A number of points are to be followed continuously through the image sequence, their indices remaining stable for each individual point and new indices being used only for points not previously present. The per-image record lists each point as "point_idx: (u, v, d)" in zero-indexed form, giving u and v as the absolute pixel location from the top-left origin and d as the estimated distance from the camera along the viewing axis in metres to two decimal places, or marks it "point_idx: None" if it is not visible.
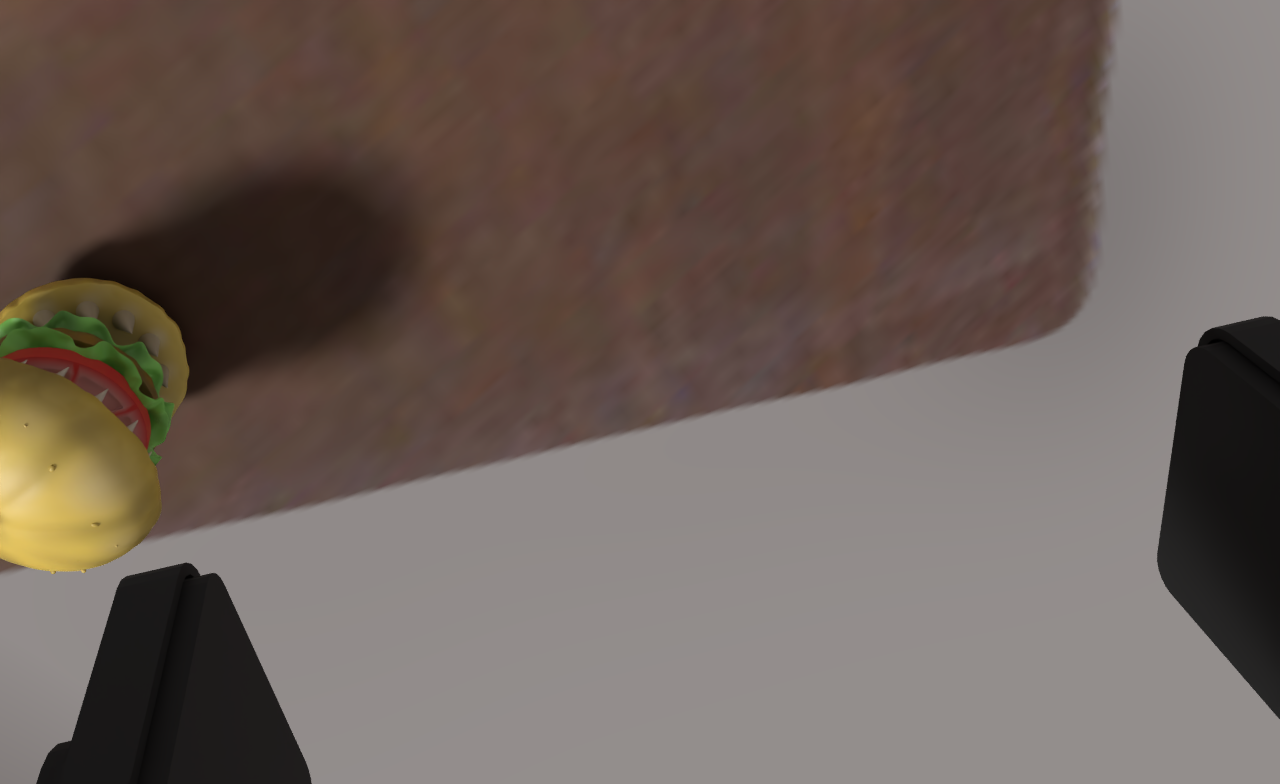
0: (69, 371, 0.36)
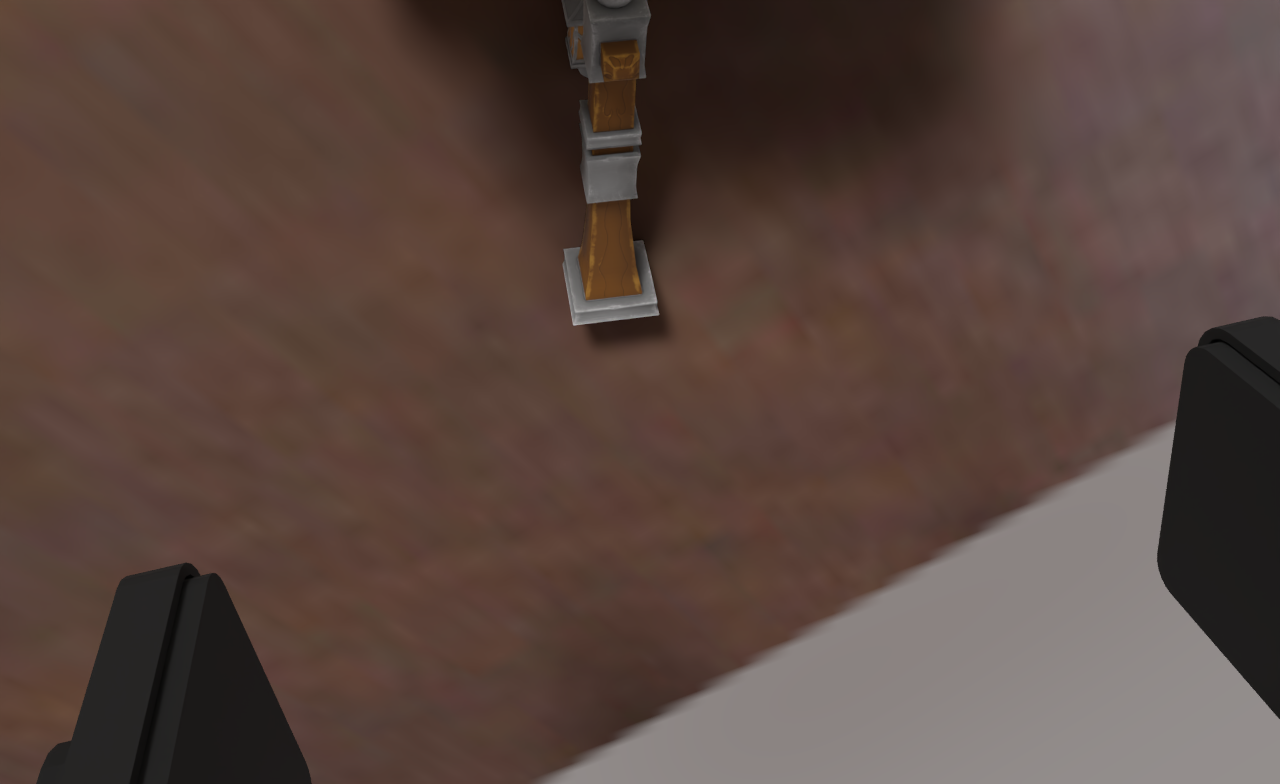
0: None
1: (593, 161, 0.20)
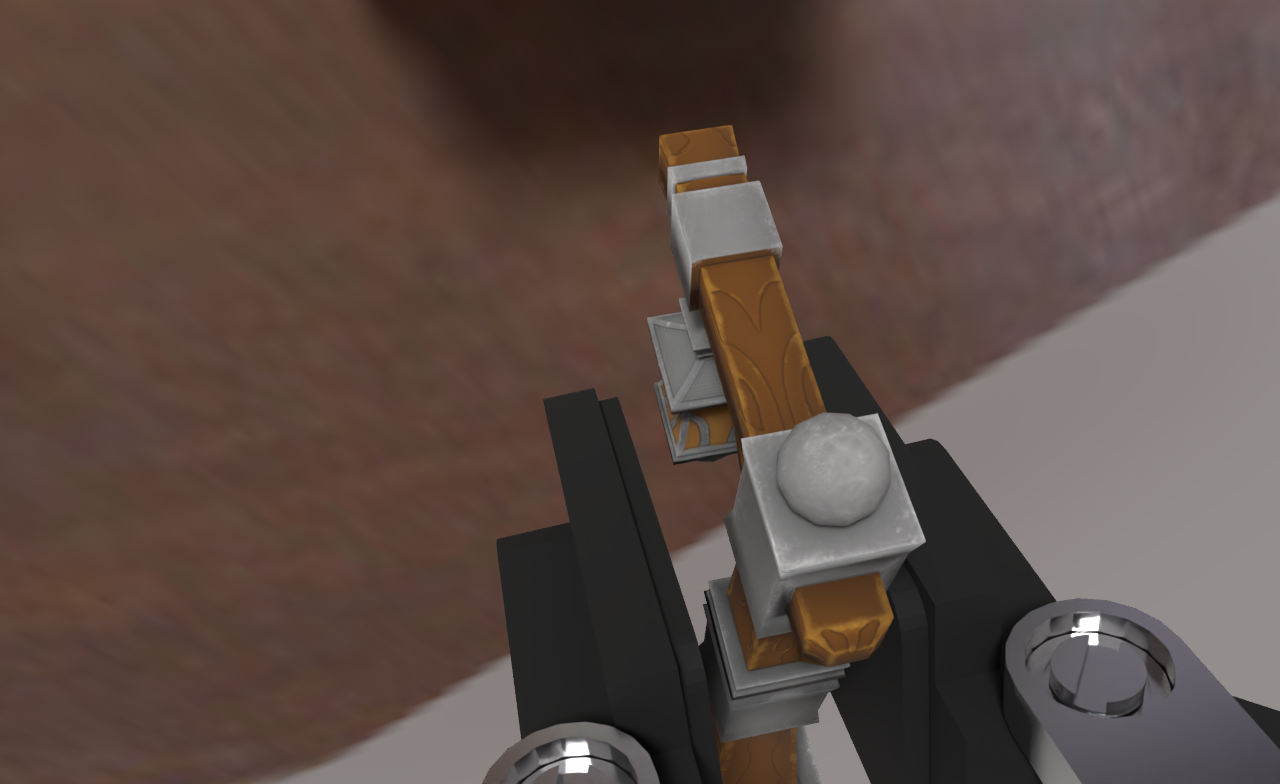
0: None
1: (743, 707, 0.10)
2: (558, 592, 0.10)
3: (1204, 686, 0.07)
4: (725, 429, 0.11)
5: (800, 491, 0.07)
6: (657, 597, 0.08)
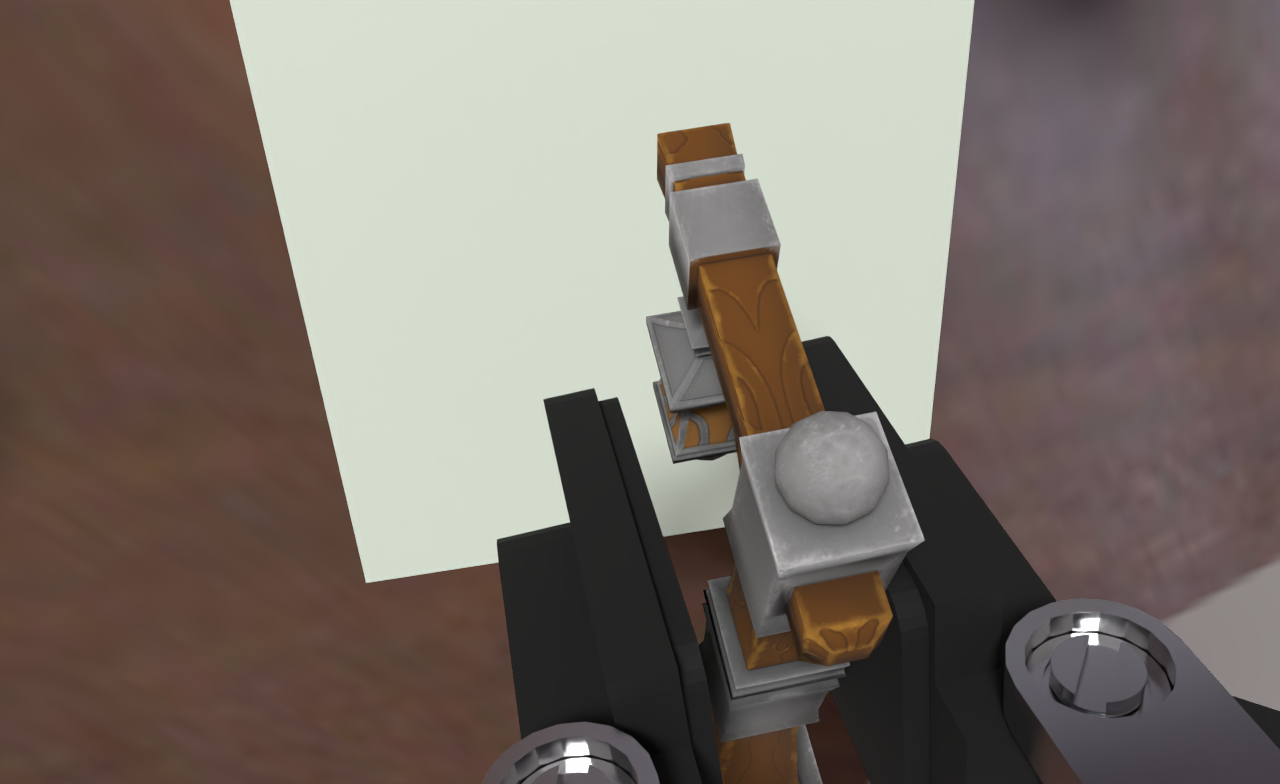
0: None
1: (743, 706, 0.10)
2: (559, 592, 0.10)
3: (1204, 686, 0.07)
4: (724, 428, 0.11)
5: (798, 490, 0.07)
6: (656, 597, 0.08)
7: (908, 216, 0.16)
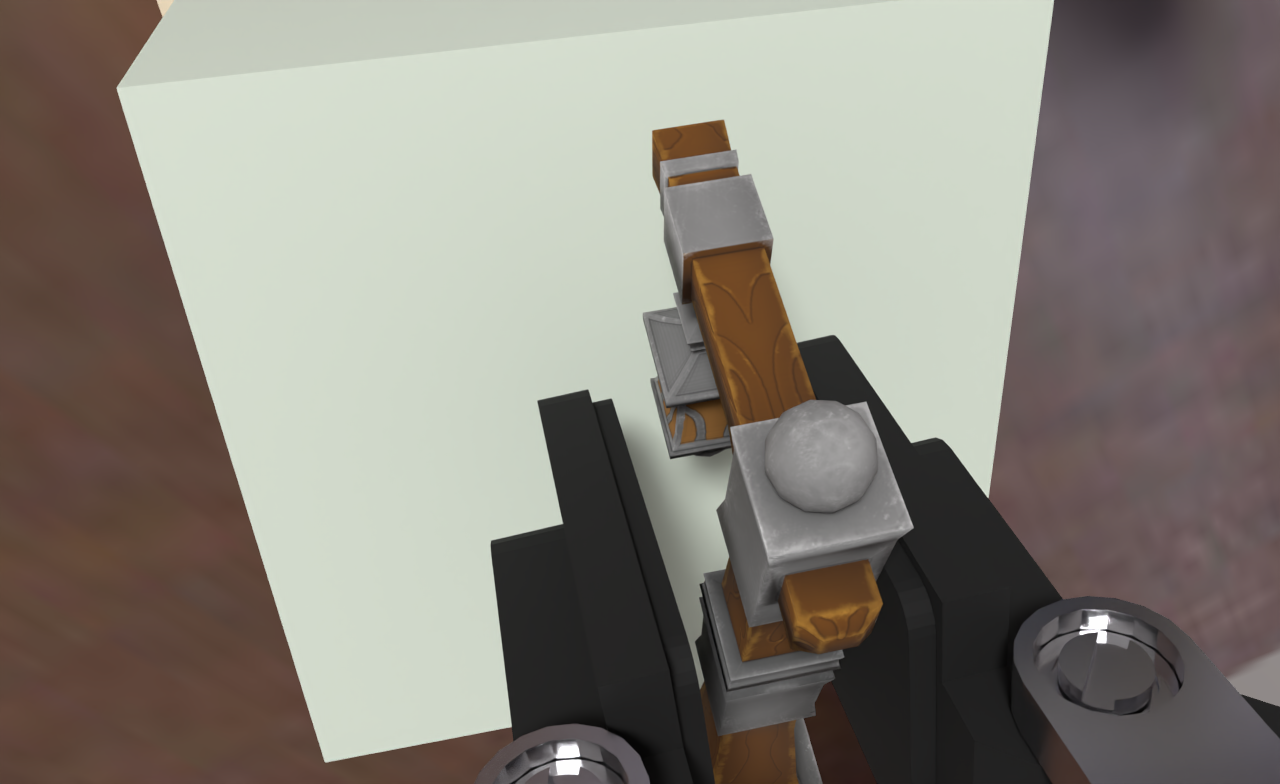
0: None
1: (738, 699, 0.10)
2: (552, 593, 0.10)
3: (1213, 684, 0.07)
4: (721, 424, 0.11)
5: (787, 478, 0.07)
6: (649, 600, 0.08)
7: (957, 339, 0.13)
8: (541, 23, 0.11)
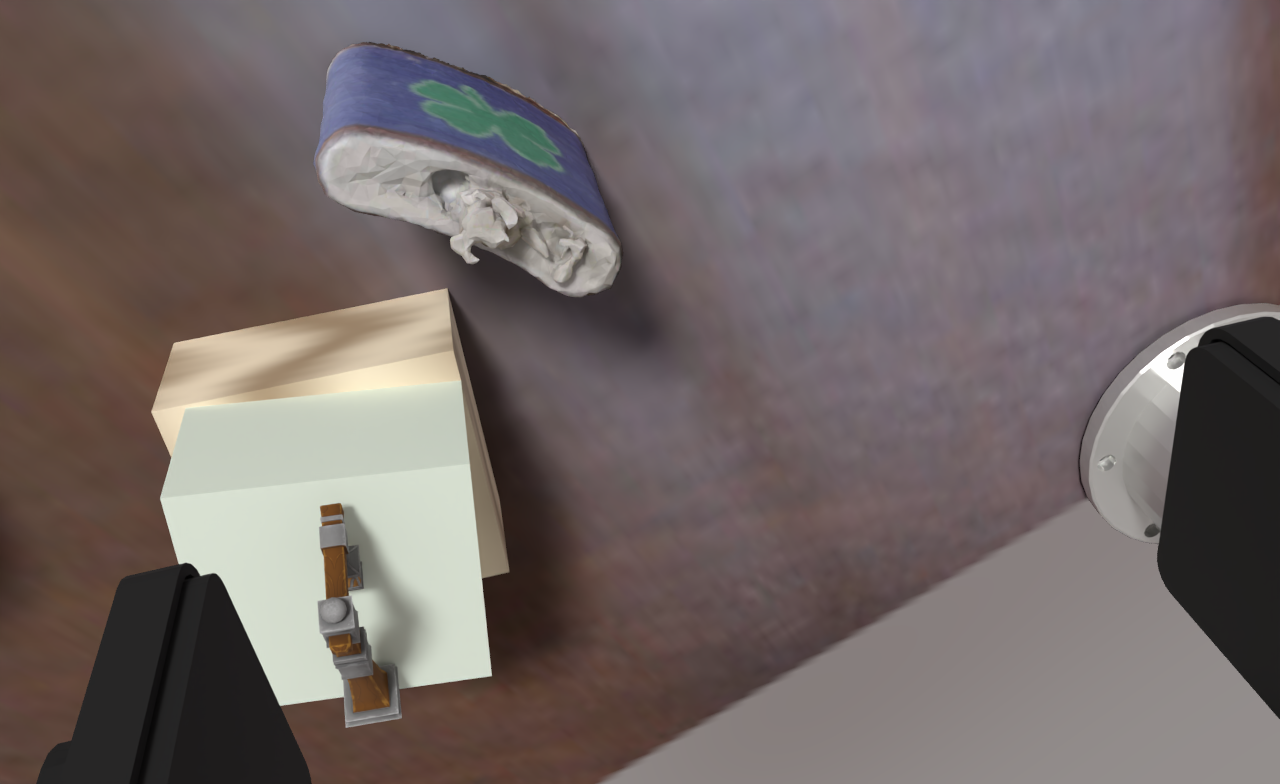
0: None
1: (339, 667, 0.34)
2: None
3: None
4: (348, 583, 0.35)
5: (322, 615, 0.31)
6: None
7: (459, 567, 0.37)
8: (298, 471, 0.34)
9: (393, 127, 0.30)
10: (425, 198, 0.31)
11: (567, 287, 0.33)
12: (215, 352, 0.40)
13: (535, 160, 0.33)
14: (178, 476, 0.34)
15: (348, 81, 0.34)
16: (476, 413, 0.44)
